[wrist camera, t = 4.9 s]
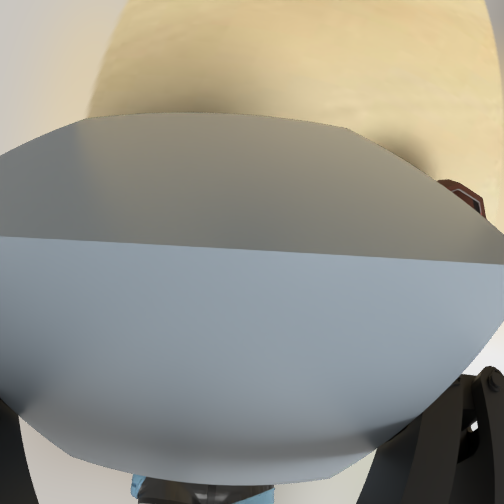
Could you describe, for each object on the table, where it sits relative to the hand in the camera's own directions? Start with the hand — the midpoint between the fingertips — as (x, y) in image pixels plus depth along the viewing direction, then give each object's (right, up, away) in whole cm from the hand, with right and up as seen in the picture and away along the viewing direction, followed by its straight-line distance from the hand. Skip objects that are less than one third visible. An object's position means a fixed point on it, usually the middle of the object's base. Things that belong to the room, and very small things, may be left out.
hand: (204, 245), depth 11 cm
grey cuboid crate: (0, 0, +1) cm, 1 cm away
